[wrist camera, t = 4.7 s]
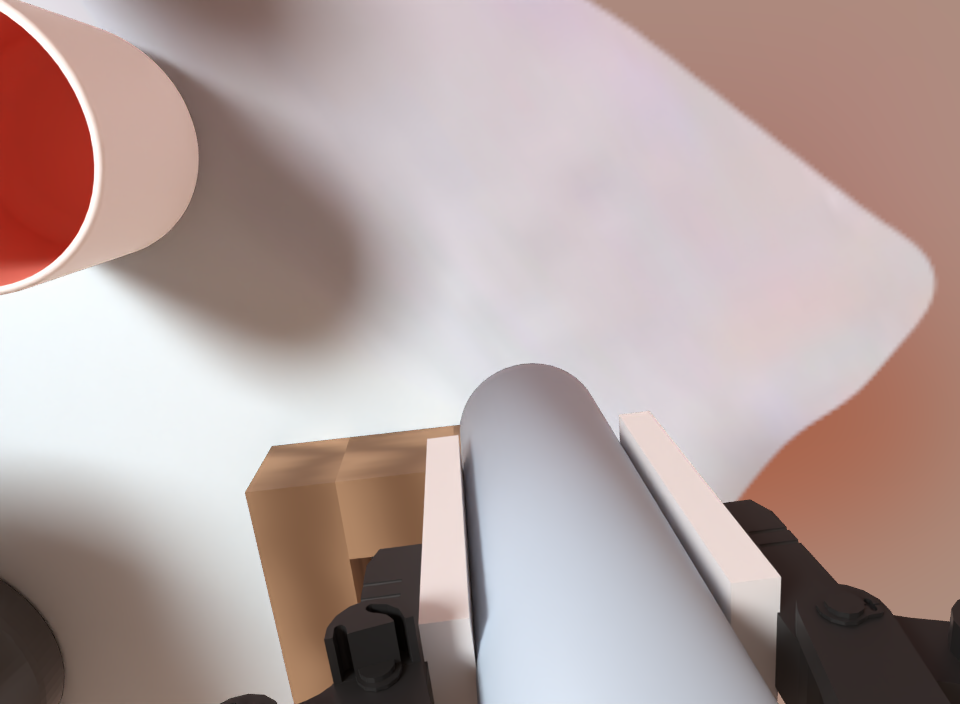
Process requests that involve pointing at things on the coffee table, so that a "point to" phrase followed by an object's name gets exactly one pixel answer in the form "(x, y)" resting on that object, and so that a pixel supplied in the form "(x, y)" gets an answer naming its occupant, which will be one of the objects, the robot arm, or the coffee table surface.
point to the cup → (84, 147)
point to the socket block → (332, 532)
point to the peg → (581, 562)
